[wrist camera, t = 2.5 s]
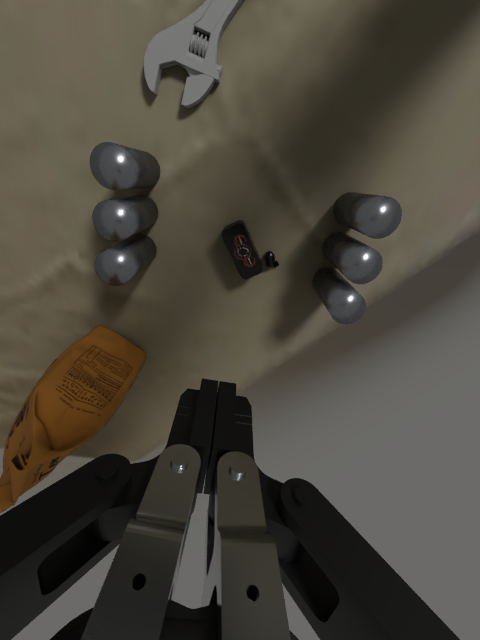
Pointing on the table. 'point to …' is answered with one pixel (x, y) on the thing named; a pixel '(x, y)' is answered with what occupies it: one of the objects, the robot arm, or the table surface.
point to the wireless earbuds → (245, 250)
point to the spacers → (141, 212)
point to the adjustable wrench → (191, 49)
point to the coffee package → (67, 408)
